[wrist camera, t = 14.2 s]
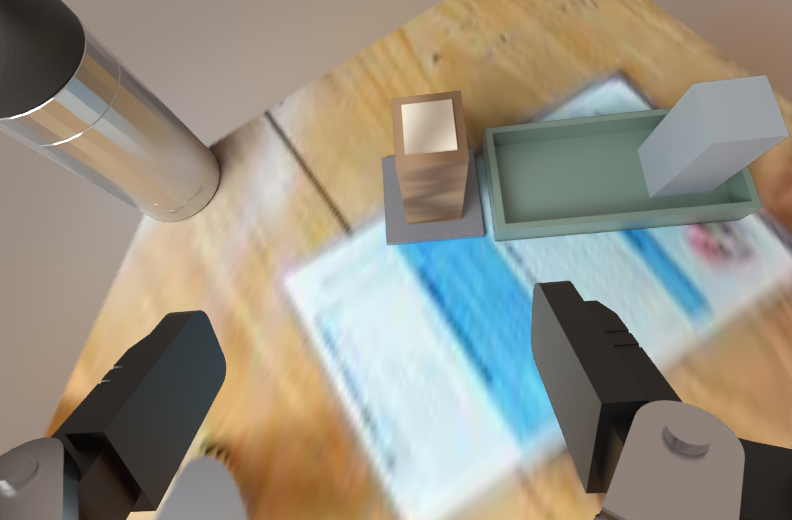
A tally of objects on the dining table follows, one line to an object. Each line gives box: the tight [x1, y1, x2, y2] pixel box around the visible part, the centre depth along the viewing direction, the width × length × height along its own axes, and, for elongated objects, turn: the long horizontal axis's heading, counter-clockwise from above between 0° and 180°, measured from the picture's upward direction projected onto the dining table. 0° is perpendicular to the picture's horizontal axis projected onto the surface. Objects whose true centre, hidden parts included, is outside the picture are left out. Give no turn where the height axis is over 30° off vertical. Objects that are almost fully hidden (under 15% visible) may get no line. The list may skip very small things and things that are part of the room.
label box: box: [391, 91, 469, 225], centre depth 34 cm, size 5×6×11 cm
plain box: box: [638, 75, 789, 198], centre depth 34 cm, size 5×5×9 cm
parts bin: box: [482, 108, 762, 242], centre depth 38 cm, size 21×10×3 cm, turn 93°
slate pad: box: [382, 148, 484, 245], centre depth 40 cm, size 9×9×1 cm
